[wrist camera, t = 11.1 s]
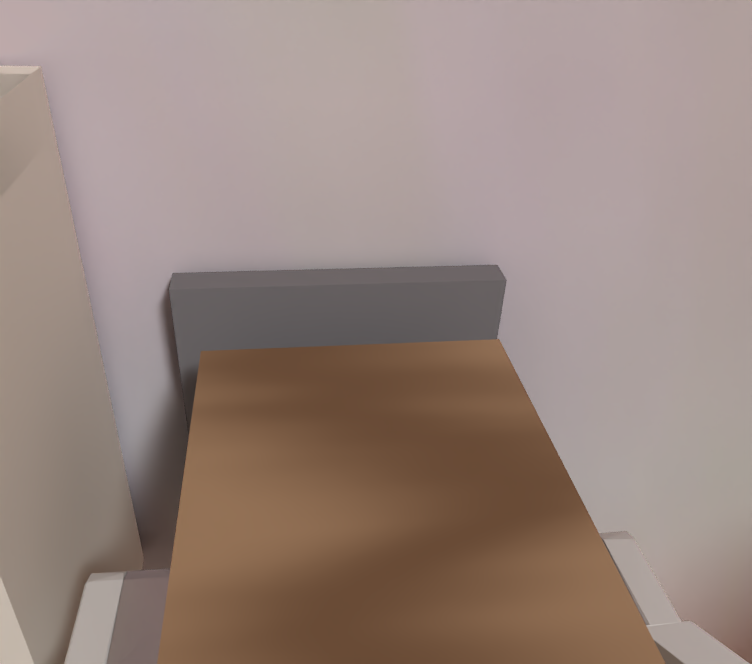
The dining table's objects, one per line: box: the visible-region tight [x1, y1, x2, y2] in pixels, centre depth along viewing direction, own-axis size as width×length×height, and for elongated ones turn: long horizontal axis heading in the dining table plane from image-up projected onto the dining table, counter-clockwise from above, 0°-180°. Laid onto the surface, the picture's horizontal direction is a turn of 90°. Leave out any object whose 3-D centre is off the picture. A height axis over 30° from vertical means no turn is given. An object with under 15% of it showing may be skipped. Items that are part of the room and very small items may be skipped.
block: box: [157, 339, 666, 664], centre depth 10 cm, size 5×5×8 cm
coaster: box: [169, 265, 506, 433], centre depth 14 cm, size 6×6×1 cm
